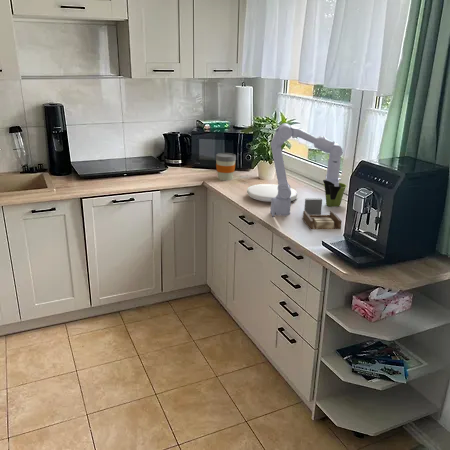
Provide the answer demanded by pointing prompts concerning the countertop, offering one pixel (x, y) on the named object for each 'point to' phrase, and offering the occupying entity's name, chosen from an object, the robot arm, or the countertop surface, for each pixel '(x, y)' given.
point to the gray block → (313, 205)
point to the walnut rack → (310, 218)
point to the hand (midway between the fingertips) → (330, 196)
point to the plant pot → (338, 198)
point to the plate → (267, 192)
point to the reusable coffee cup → (225, 165)
